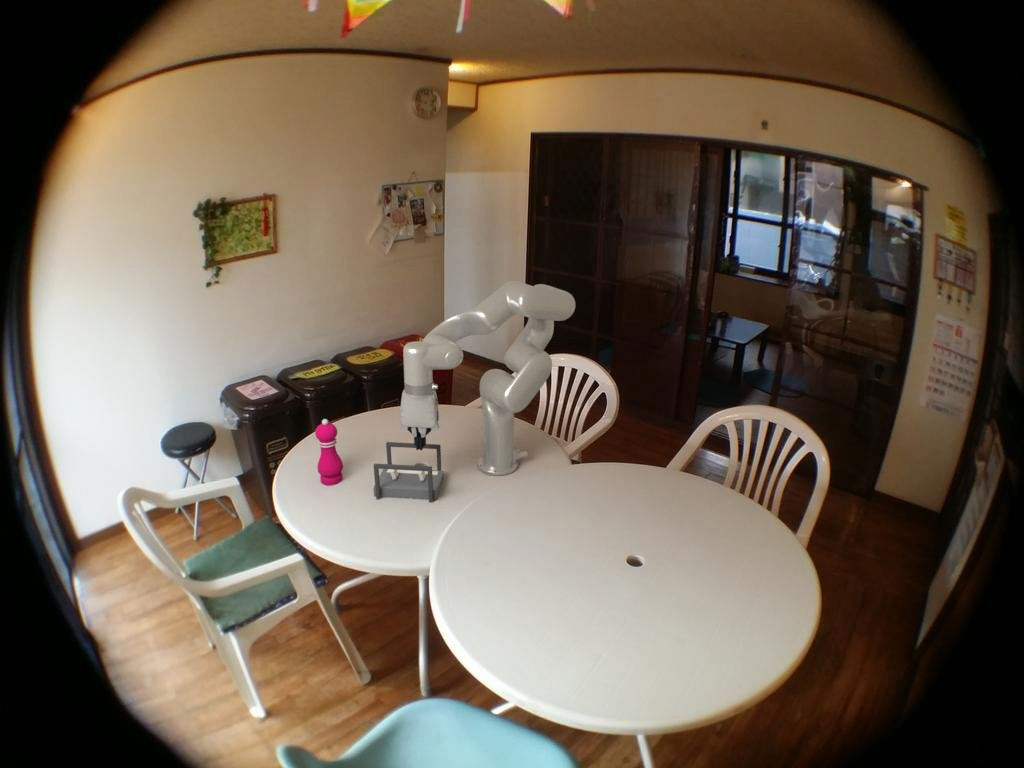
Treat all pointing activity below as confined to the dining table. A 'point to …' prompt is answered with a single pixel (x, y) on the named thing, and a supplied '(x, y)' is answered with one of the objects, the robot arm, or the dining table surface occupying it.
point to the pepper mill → (328, 454)
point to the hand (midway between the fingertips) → (420, 447)
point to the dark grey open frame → (407, 467)
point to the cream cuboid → (422, 475)
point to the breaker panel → (409, 484)
